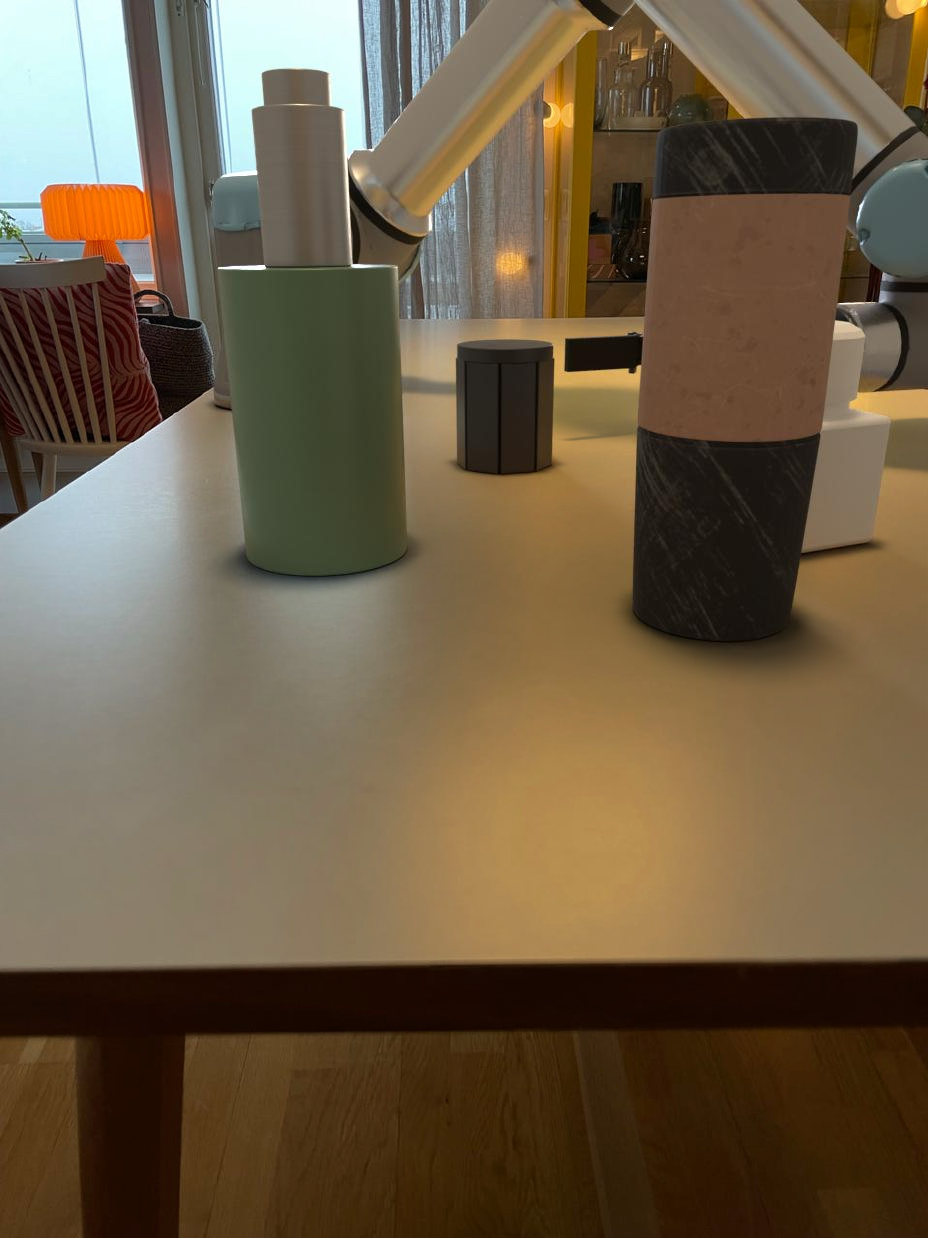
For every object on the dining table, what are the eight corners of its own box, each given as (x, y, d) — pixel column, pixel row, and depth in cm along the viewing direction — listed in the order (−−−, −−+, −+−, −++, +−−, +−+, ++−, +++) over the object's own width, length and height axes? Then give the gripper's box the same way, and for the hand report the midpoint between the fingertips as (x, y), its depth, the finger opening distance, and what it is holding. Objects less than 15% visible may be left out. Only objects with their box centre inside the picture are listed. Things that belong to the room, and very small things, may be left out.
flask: (243, 534, 56) (197, 85, 47) (391, 522, 58) (374, 90, 49) (250, 583, 48) (196, 52, 39) (422, 567, 50) (408, 60, 41)
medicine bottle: (694, 526, 56) (711, 318, 52) (787, 512, 59) (812, 313, 55) (774, 560, 50) (801, 327, 46) (874, 543, 53) (910, 321, 48)
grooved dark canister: (448, 456, 76) (446, 341, 72) (533, 451, 77) (535, 337, 74) (471, 476, 69) (470, 350, 66) (563, 470, 71) (567, 346, 67)
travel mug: (806, 650, 39) (881, 112, 32) (622, 637, 41) (652, 120, 33) (786, 589, 46) (843, 135, 39) (629, 579, 48) (655, 141, 40)
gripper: (933, 418, 70) (687, 440, 63) (736, 378, 92) (538, 391, 85) (952, 313, 67) (696, 324, 61) (744, 297, 89) (540, 304, 82)
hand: (603, 363), depth 73 cm, fingers open, 13 cm apart
